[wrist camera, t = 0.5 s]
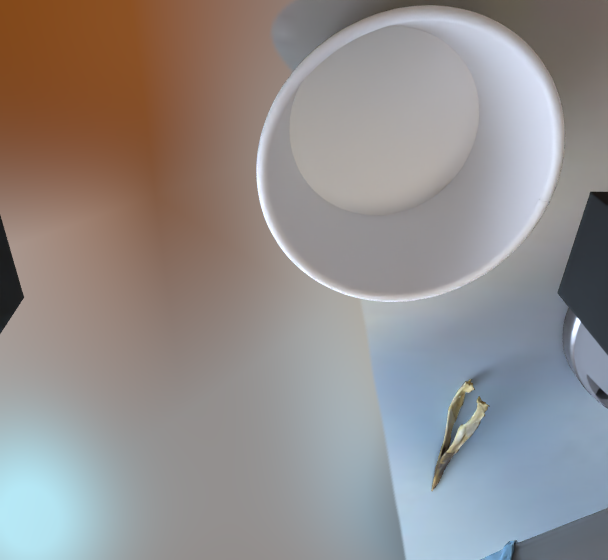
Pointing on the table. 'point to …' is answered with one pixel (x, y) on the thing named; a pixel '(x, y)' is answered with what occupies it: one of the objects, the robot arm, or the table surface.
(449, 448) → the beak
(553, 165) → the food container
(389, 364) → the table surface
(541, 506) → the table surface
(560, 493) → the table surface
